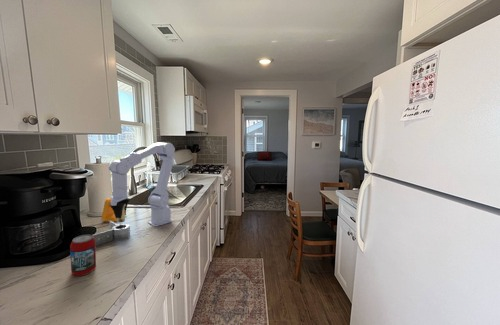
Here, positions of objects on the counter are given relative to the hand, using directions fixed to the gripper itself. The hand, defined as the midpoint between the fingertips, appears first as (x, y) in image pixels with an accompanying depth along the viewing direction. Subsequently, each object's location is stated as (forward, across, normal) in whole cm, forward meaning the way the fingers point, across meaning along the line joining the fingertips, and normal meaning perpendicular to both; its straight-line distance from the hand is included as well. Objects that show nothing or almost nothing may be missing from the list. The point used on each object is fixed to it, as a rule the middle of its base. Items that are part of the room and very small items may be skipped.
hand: (120, 216), depth 98 cm
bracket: (+10, -24, -12) cm, 29 cm away
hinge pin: (+2, 0, 0) cm, 3 cm away
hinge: (+10, 0, -5) cm, 12 cm away
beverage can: (+10, +25, -2) cm, 27 cm away
